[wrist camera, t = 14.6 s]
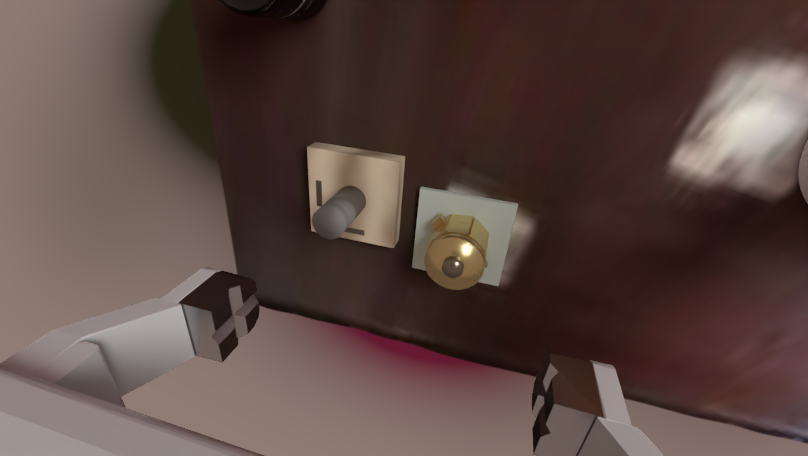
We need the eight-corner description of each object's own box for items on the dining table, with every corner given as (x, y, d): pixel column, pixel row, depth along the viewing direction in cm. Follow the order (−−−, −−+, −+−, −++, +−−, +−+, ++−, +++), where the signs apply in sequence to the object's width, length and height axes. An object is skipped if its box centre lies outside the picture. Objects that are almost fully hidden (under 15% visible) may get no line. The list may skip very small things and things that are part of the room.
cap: (457, 198, 39) (448, 224, 34) (504, 249, 40) (502, 281, 35) (418, 229, 42) (404, 257, 37) (463, 275, 43) (455, 309, 38)
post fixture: (405, 156, 39) (380, 183, 32) (398, 239, 44) (376, 278, 37) (315, 142, 41) (274, 165, 34) (319, 223, 46) (283, 257, 39)
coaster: (518, 203, 38) (518, 205, 38) (498, 283, 43) (498, 286, 42) (421, 186, 40) (420, 188, 40) (413, 264, 45) (411, 267, 44)
